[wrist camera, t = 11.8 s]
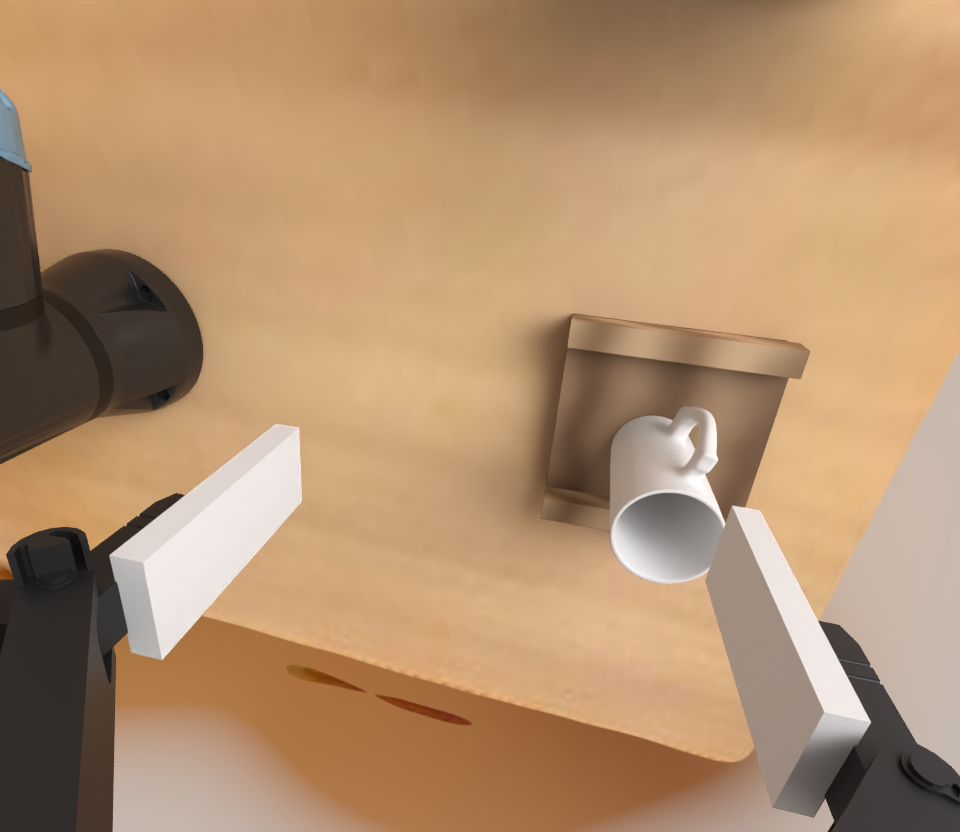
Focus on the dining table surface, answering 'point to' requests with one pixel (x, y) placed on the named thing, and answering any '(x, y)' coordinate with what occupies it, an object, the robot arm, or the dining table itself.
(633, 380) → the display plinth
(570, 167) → the dining table surface
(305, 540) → the dining table surface
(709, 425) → the mug
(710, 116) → the dining table surface
